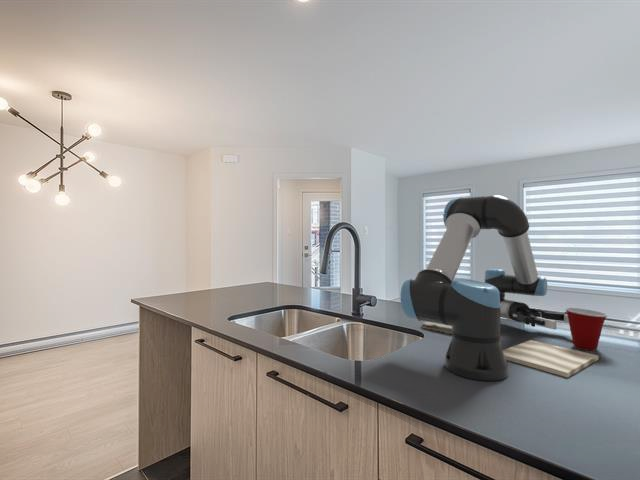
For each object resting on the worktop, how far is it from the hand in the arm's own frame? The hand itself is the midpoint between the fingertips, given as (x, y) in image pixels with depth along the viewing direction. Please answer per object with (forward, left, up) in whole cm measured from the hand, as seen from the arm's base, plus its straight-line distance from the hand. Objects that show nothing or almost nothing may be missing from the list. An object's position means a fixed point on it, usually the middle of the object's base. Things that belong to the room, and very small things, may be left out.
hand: (570, 323), depth 112 cm
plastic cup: (-2, -5, -7) cm, 8 cm away
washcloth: (-19, +33, -7) cm, 39 cm away
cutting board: (-23, -2, -6) cm, 24 cm away
